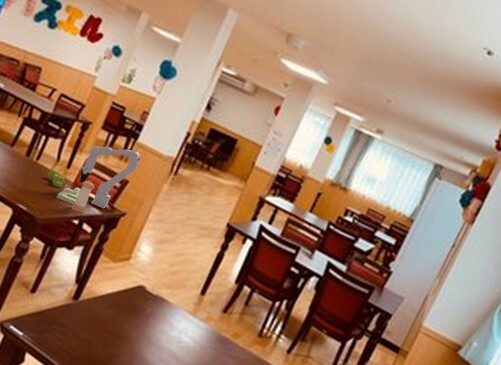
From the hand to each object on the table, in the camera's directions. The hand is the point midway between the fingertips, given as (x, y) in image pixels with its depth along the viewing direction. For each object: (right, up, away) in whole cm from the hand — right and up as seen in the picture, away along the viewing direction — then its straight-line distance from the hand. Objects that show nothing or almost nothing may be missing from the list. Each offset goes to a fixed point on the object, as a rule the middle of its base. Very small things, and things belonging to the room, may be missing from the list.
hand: (82, 182), depth 341 cm
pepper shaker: (+7, -17, -30) cm, 35 cm away
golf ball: (-1, -6, -7) cm, 9 cm away
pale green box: (-2, -10, -12) cm, 16 cm away
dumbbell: (-20, -1, +4) cm, 21 cm away
